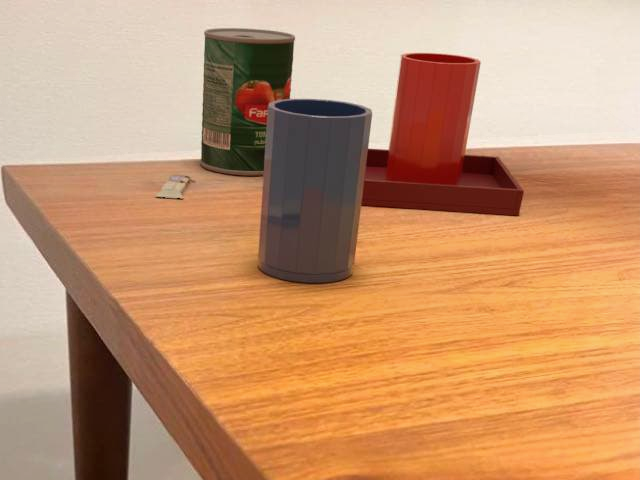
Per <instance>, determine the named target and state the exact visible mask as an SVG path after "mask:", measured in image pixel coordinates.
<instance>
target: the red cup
mask: <svg viewBox="0 0 640 480" xmlns="http://www.w3.org/2000/svg"><path fill="white" fill-rule="evenodd" d="M481 63H482V62H481V60H479V59H478V58H475V57H470V56H465V55H458V54H449V53H435V52H409V53H406V52H405V53H403V54H401V55H400V58H399V65H398V67H399V68H398V74H397V80H396V88H395V97H394V103H393V104H394V105H393V110H392V111H393V112H392V117H391V118H392V119H391V127H390V134H389V135H390V136H389V141H388V149H387V150H388V156H387V164H386V171H385V174H386V175H385V181H400V182H415V183H430V184H445V185H459V182H460V179H461V174H462V168H463V162H464V156H465V155H466V149H467V144H468V138H469V133H470V126H471V123H472V115H473V109H474V104H475V98H476V94H477V93H476V92H477V86H478V80H479V74H480V70H481Z"/></svg>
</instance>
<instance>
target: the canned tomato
mask: <svg viewBox="0 0 640 480" xmlns="http://www.w3.org/2000/svg"><path fill="white" fill-rule="evenodd" d="M203 35H204V52H203V74H202V75H203V76H202V77H203V84H202V86H203V87H202V113H201V117H202V121H201V142H200V143H201V148H200V149H201V151H200V154H201V156H200V161H199V162H200V163H199V164H200V165H201V166H202V167H203V168H204V169H207V170H209V171H212V172H216V173H220V174H226V175H233V176H250V177H251V176H252V177H254V176H255V177H256V176H257V177H258V176H259V177H260V176H263V175H264V160H265V145H266V129H267V114H268V105H269V103H270V102H274V101H277V100H285V99H291V92H292V75H293V62H294V48H295V41H296V36H295V35H294V34H293V33H288V32H284V31H278V30H270V29H269V30H268V29H259V28H241V27H239V28H238V27H220V28H219V27H218V28H217V27H216V28H208V29H205V30H204V32H203Z"/></svg>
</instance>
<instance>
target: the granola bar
mask: <svg viewBox="0 0 640 480" xmlns="http://www.w3.org/2000/svg"><path fill="white" fill-rule="evenodd" d="M195 181H196V180H194V179H192V178H191V176H189V175H182V174H181V175H179V174H172V175H171V176H170V177H169V178H168V180H167V181H166V182H165V183H164V184H163V186H162V187H161V189H160V191H158V193H157V194H155V195H154V197H155V198H163V197H165V198H166V199H167V198H168V199H177V198H180V199H179V200H183V199H184V194H185V192H186V191H187V189H188V188H189V186H190V185H191V183H190V182H192V183H196V182H195ZM189 184H190V185H189ZM188 185H189V186H188ZM187 187H188V188H187ZM185 190H186V191H185ZM183 193H184V194H183Z"/></svg>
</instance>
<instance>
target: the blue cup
mask: <svg viewBox="0 0 640 480" xmlns="http://www.w3.org/2000/svg"><path fill="white" fill-rule="evenodd" d="M372 119H373V111H372V109H371V108H369V107H366V106H364V105H362V104H359V103H353V102H348V101H341V100H335V99H334V100H333V99H321V98H290V99H285V100H277V101H274V102H270V103H269V105H268V114H267V129H266V145H265V160H264V175H262V176H263V177H262V178H263V179H262V192H261V193H262V194H261V205H260V206H261V207H260V220H259V221H260V223H259V224H260V225H259V236H258V237H259V238H258V253H257V259H258V260H257V266H258V269H259V270H261V271H262V272H263V273H265V274H266V275H268V276H270V277H273V278H276V279H280V280H283V281H289V282H294V283H303V284H324V283H326V284H327V283H333V282H339V281H343V280H345V279H347V278H349V277H350V276H351V275H352V274H353V272H354V265H355V261H356V253H357V243H358V237H359V236H358V235H359V228H360V227H359V226H360V220H361V210H362V205H361V203H362V195H363V187H364V179H365V170H366V162H367V154H368V148H369V145H370V137H371V128H372Z"/></svg>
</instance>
